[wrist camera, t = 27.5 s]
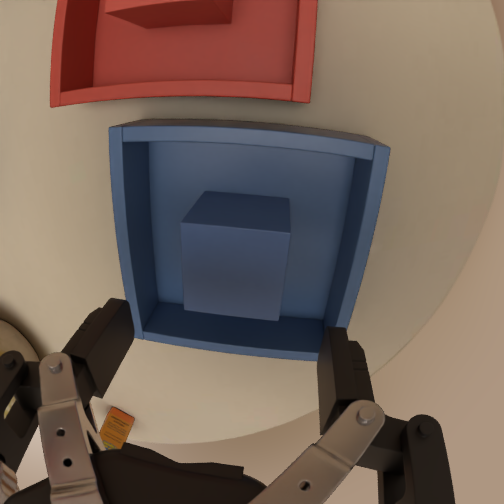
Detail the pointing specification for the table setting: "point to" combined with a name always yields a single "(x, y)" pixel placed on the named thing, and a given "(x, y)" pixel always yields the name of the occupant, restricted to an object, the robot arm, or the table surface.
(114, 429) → the supplement box
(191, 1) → the red block
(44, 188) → the table surface
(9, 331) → the sugar bowl
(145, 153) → the blue bin
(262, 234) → the blue block
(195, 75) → the red bin
